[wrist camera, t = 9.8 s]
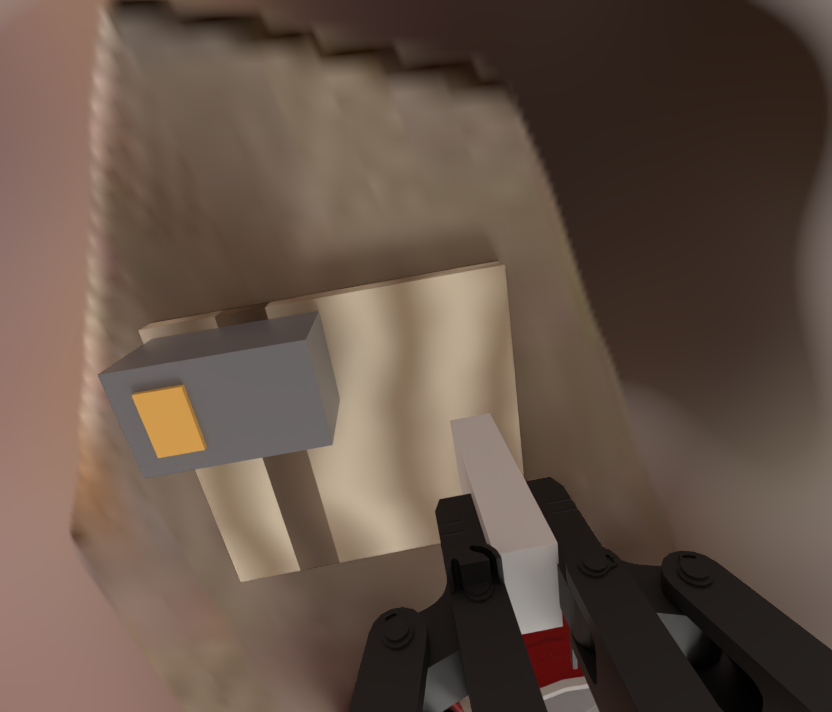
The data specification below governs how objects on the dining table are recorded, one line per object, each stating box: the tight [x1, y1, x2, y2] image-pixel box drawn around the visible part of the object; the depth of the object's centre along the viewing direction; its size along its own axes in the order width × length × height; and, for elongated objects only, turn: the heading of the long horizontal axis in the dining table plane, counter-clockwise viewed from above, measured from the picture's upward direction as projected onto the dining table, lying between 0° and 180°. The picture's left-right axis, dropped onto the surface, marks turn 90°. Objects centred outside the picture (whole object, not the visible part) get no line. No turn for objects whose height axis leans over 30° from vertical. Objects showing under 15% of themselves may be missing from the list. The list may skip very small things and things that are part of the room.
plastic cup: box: [522, 613, 599, 712], centre depth 32 cm, size 11×11×12 cm
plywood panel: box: [138, 261, 524, 582], centre depth 31 cm, size 22×20×2 cm
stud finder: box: [98, 311, 340, 479], centre depth 25 cm, size 10×6×6 cm, turn 98°
